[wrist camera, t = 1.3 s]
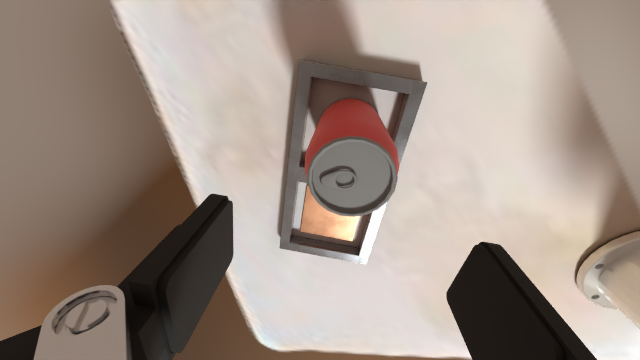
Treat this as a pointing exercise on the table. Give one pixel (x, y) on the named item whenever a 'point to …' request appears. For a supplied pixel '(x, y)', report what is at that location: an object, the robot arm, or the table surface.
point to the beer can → (351, 160)
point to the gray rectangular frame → (314, 213)
